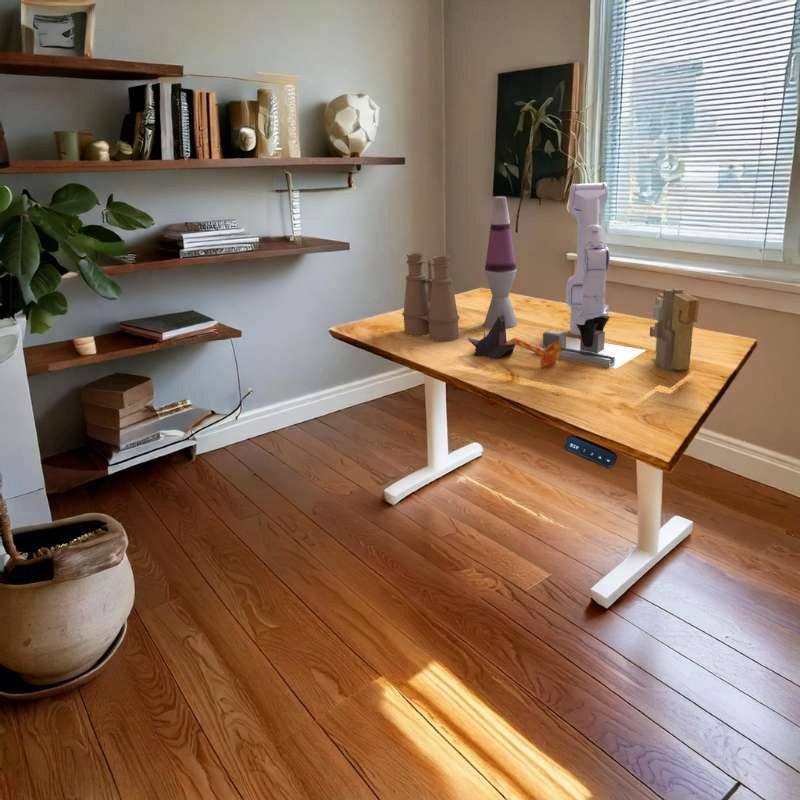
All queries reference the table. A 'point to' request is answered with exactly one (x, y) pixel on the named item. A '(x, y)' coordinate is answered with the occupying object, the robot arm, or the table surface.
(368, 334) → the table surface
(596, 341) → the block
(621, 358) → the panel
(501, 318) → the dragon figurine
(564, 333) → the mounted module
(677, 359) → the toy
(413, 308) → the binoculars
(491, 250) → the lamp
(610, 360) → the rail
